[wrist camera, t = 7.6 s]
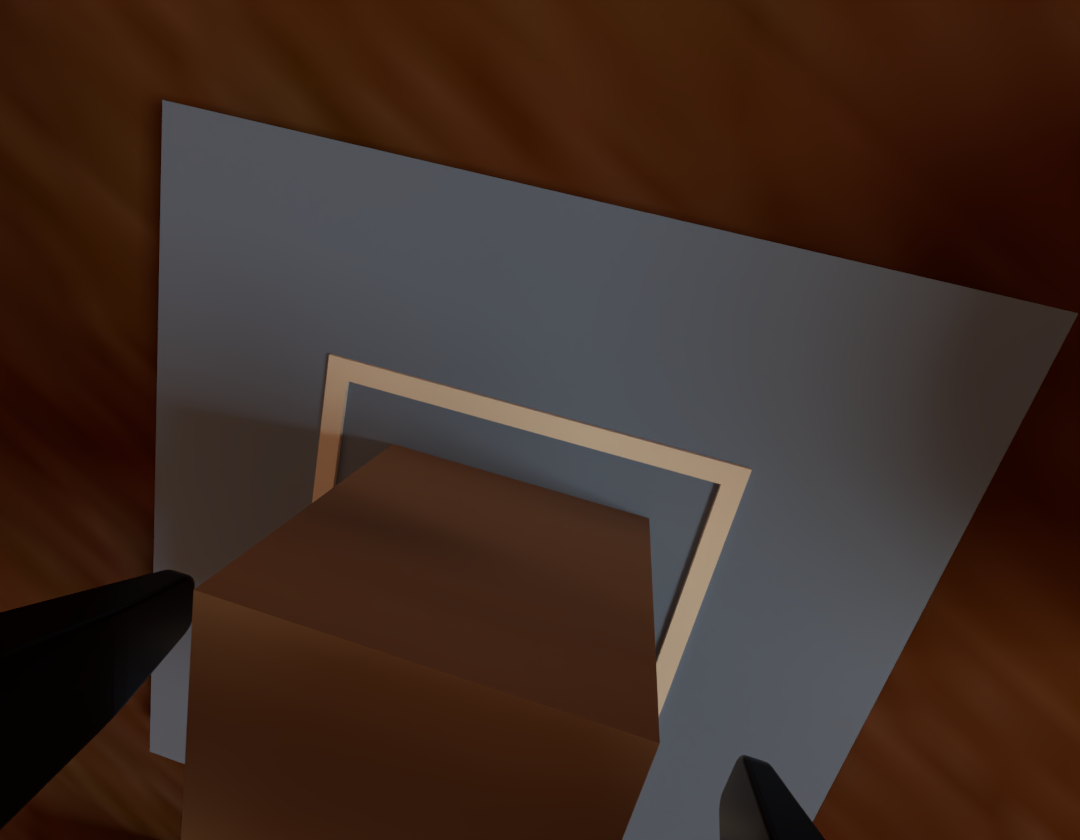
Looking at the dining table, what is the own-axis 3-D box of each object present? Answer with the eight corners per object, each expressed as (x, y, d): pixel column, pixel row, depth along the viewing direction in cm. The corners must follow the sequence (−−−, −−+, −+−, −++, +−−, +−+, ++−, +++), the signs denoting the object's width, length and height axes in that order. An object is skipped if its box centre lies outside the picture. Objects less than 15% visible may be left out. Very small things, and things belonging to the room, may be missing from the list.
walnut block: (580, 726, 12) (540, 1046, 7) (358, 653, 12) (178, 905, 7) (649, 518, 10) (660, 743, 5) (392, 443, 11) (193, 589, 6)
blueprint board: (733, 922, 13) (739, 967, 13) (174, 726, 15) (146, 754, 14) (1040, 308, 9) (1084, 313, 8) (197, 112, 10) (157, 98, 9)
